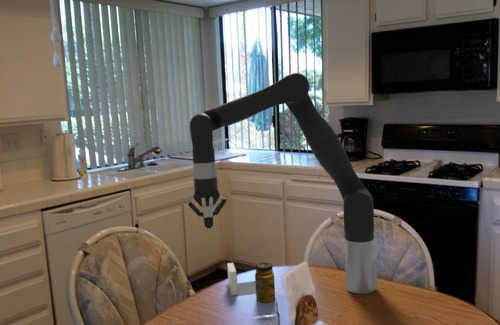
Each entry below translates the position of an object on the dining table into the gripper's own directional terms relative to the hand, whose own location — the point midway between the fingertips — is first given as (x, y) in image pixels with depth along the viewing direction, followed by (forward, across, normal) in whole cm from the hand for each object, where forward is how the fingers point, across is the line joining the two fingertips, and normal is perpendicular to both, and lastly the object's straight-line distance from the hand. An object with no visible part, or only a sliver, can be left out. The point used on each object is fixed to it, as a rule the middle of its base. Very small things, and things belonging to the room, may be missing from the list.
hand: (209, 227), depth 151 cm
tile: (+22, -6, 0) cm, 23 cm away
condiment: (+23, -15, +10) cm, 29 cm away
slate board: (+23, -11, 0) cm, 25 cm away
